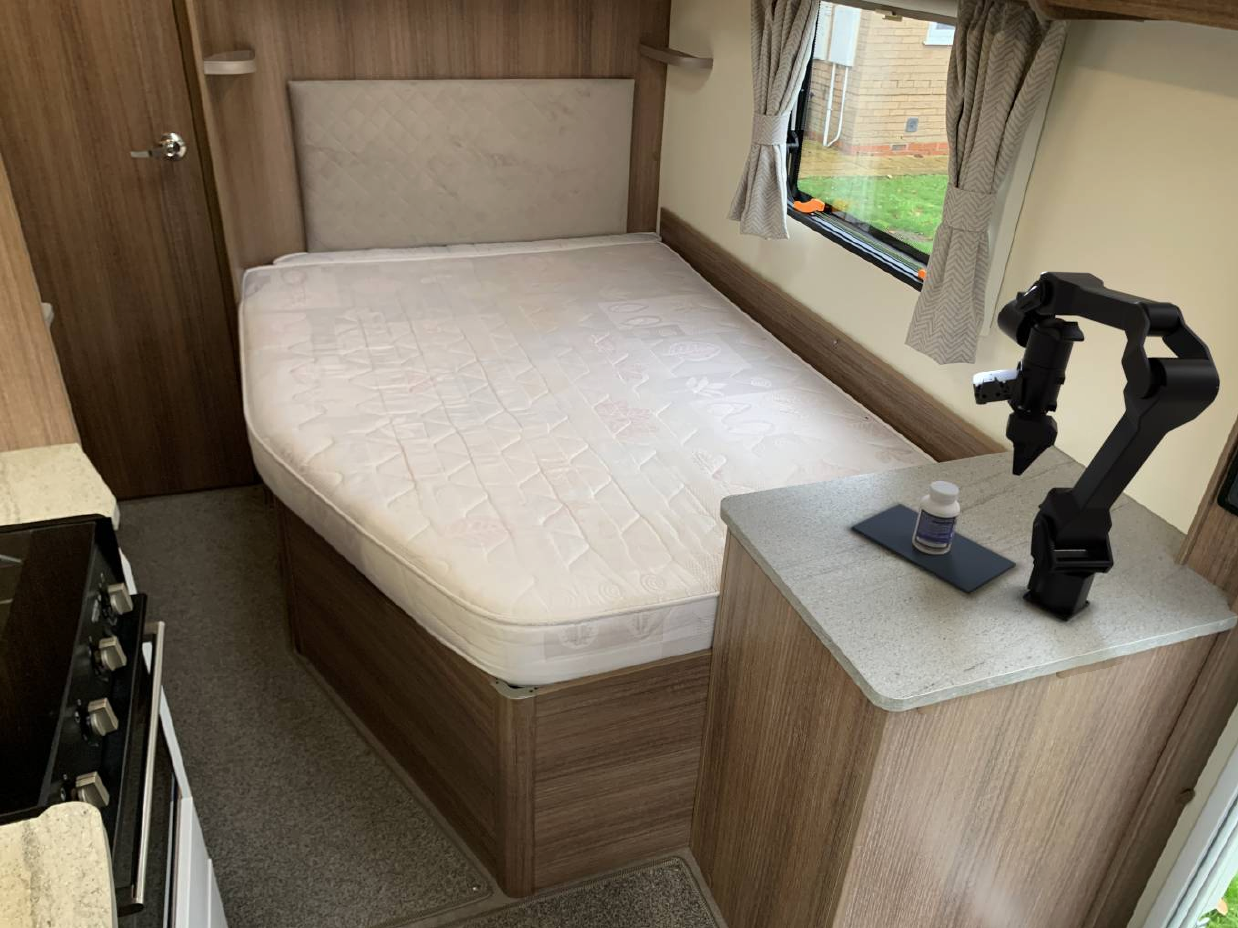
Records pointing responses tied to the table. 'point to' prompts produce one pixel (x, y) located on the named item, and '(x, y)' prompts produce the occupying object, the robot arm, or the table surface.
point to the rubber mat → (957, 567)
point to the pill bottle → (937, 519)
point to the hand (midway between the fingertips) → (1016, 461)
